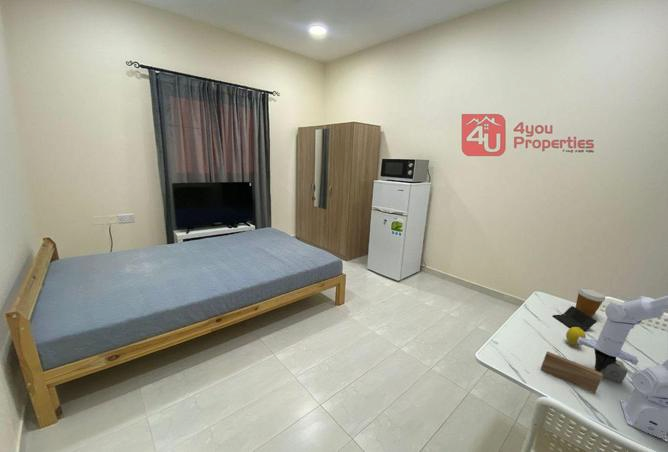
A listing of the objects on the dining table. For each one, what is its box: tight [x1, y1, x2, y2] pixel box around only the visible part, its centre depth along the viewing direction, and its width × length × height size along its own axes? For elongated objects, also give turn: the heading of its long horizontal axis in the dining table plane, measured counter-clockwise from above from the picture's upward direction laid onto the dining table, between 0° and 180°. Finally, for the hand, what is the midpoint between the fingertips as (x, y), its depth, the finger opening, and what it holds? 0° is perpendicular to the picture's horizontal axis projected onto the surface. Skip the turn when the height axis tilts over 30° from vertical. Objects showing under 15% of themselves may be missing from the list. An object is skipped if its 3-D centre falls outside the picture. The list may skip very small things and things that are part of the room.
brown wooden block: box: [540, 351, 604, 394], centre depth 90 cm, size 2×14×7 cm, turn 54°
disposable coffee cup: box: [575, 286, 606, 318], centre depth 127 cm, size 10×10×12 cm
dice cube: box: [601, 359, 629, 384], centre depth 94 cm, size 5×5×5 cm
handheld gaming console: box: [552, 305, 598, 333], centre depth 121 cm, size 12×7×10 cm
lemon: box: [565, 327, 587, 346], centre depth 107 cm, size 6×6×8 cm
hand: (597, 369), depth 95 cm, fingers closed
